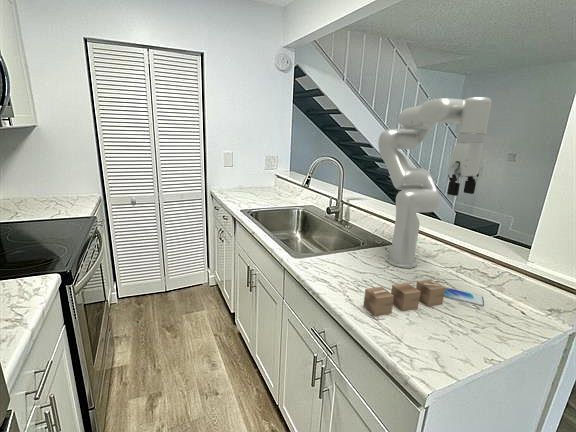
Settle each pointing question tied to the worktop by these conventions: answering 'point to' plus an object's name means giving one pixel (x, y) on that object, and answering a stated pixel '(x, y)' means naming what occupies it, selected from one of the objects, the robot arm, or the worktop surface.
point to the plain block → (405, 296)
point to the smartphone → (464, 297)
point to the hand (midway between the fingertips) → (460, 194)
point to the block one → (378, 301)
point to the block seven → (430, 292)
